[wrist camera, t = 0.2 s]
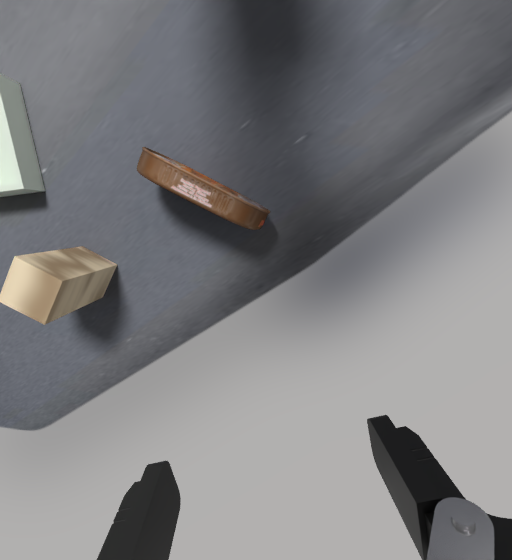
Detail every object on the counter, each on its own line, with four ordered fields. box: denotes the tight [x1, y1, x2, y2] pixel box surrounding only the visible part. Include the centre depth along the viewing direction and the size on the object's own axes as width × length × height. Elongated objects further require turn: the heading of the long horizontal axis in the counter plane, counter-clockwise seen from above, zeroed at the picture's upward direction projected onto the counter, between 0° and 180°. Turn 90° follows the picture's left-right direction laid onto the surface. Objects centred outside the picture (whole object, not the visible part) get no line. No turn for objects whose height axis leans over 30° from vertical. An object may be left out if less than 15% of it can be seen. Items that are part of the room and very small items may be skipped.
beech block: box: [0, 246, 117, 325], centre depth 36 cm, size 5×5×11 cm
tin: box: [137, 147, 270, 230], centre depth 35 cm, size 15×3×8 cm, turn 63°
